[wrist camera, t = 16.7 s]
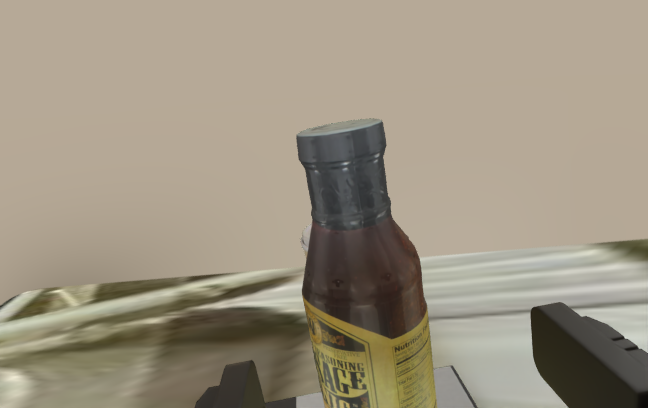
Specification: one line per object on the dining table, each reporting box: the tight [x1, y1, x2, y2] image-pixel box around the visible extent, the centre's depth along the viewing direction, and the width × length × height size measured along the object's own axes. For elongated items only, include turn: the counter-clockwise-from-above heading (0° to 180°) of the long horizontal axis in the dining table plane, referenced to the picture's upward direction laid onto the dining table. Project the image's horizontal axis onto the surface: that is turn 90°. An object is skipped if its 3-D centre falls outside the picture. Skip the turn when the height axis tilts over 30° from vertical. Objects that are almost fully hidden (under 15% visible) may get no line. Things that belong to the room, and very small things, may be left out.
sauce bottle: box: [297, 119, 437, 408], centre depth 21 cm, size 7×6×20 cm
